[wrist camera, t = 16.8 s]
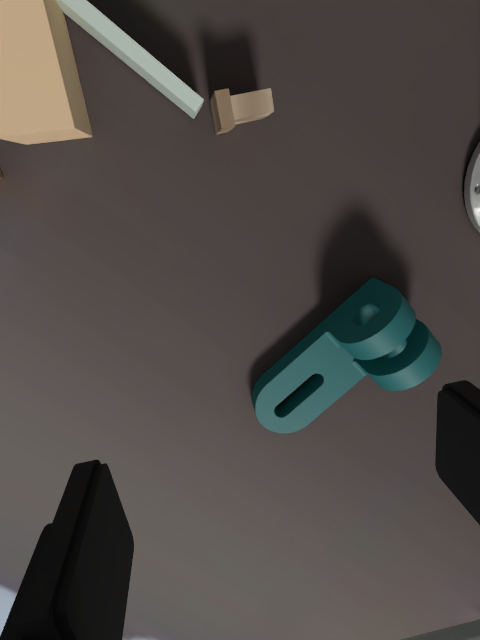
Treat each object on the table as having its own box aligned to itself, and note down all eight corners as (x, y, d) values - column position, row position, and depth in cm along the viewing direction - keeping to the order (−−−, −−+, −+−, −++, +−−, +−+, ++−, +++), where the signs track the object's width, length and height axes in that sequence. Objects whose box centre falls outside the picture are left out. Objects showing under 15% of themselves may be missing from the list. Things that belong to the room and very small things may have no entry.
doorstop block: (64, 13, 28) (36, -28, 22) (92, 136, 31) (74, 127, 25) (-10, 19, 27) (-57, -21, 22) (26, 144, 30) (-7, 137, 25)
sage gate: (201, 107, 31) (204, 99, 28) (186, 130, 31) (188, 124, 28) (11, -51, 26) (-12, -84, 23) (-3, -22, 26) (-28, -51, 23)
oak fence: (258, 92, 31) (270, 80, 28) (263, 124, 32) (275, 117, 28) (-64, 155, 30) (-100, 151, 26) (-49, 188, 30) (-82, 189, 26)
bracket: (371, 276, 39) (417, 299, 31) (407, 321, 41) (457, 352, 34) (238, 395, 41) (251, 442, 34) (279, 431, 43) (300, 483, 36)
